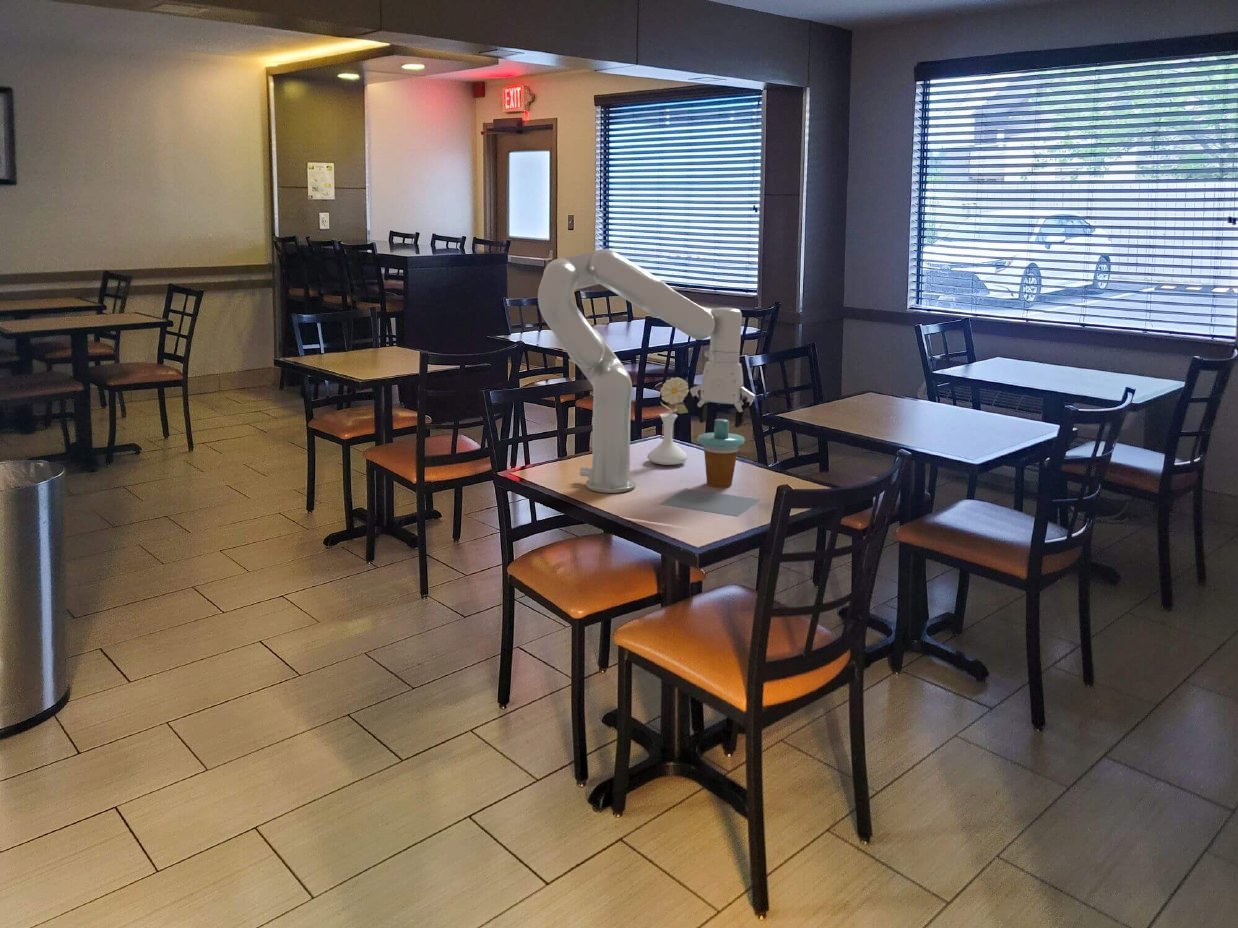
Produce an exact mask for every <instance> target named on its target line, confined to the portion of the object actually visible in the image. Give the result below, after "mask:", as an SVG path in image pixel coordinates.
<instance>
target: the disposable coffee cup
mask: <svg viewBox="0 0 1238 928" xmlns="http://www.w3.org/2000/svg"><path fill="white" fill-rule="evenodd" d="M702 449H703V452H704V462H705V463H704V464H705V473H706V474H705V475H706V484H707V486H708V487H711V488H718V489H725V488H730V487H732V485H733V478H734V475H735V467H736V462H737V455H738V451H739V449H740V445H739V446H732V447H718V446H709V445H704V444H702Z"/></svg>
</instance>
